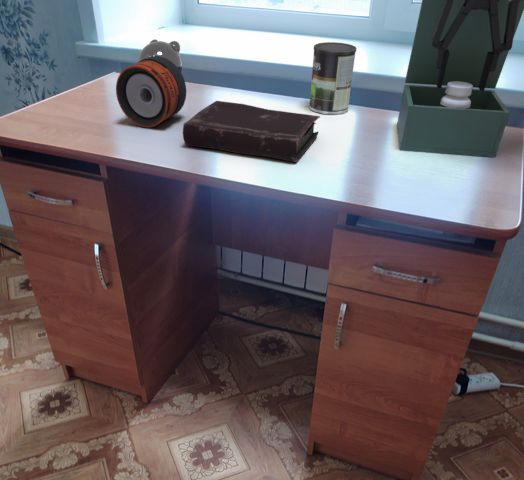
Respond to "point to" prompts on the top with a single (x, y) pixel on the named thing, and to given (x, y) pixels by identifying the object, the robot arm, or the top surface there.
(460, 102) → the pill bottle
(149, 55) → the piggy bank
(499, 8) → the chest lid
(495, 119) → the chest
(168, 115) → the oil filter
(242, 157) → the top surface
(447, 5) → the robot arm
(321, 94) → the coffee can
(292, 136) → the diary
